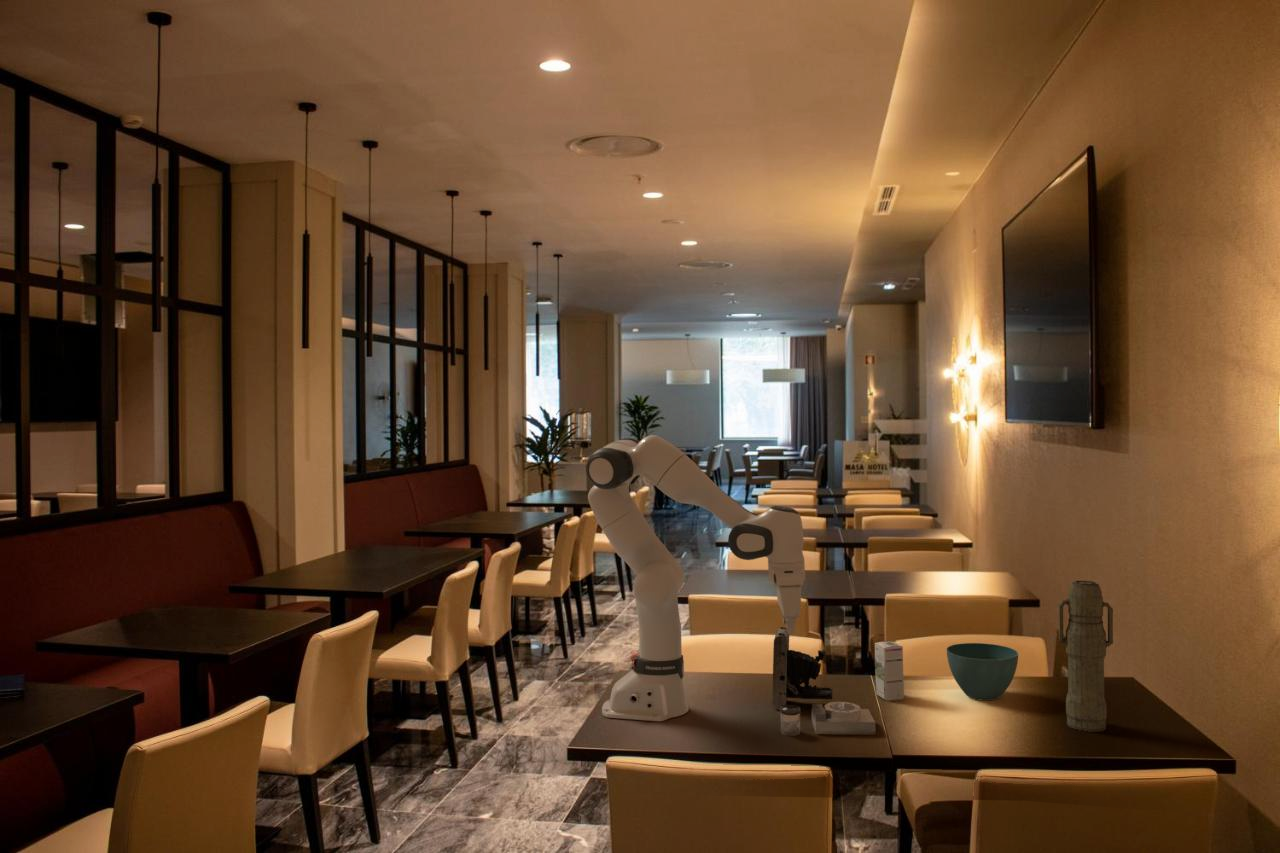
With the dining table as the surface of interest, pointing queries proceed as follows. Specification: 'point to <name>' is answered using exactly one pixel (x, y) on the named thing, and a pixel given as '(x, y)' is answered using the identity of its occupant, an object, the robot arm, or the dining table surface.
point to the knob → (790, 720)
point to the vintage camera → (794, 673)
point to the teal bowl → (982, 668)
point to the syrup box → (889, 670)
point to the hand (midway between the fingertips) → (788, 629)
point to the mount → (842, 719)
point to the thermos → (1086, 655)
